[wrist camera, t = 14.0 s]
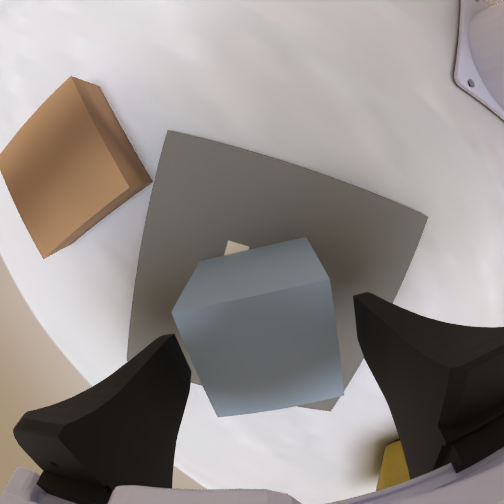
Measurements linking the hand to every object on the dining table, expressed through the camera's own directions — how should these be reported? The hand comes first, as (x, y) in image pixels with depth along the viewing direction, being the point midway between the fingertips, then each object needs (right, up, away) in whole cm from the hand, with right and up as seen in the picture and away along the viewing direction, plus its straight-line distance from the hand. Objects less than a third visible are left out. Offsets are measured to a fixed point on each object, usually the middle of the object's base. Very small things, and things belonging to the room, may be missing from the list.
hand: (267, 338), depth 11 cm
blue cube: (0, +1, +3) cm, 3 cm away
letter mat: (0, +1, +4) cm, 4 cm away
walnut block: (-9, +8, +2) cm, 12 cm away
